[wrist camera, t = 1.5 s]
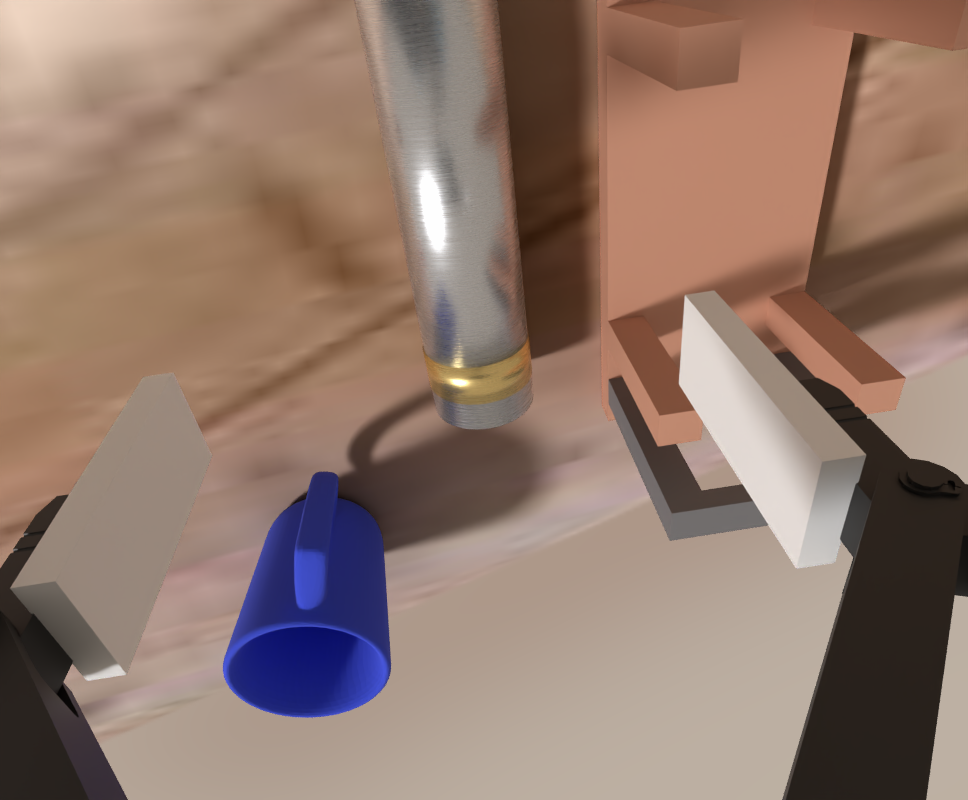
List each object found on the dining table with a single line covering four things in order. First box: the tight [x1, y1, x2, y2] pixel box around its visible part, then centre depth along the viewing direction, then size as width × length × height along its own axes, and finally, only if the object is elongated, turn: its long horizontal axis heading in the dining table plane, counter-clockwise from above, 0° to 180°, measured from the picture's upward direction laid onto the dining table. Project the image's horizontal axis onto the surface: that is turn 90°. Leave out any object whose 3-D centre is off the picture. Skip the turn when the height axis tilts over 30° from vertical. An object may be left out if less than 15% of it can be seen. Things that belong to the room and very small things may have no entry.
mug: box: [223, 472, 391, 717], centre depth 35 cm, size 8×12×10 cm
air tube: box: [354, 0, 533, 429], centre depth 27 cm, size 20×5×5 cm
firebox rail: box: [597, 0, 968, 541], centre depth 25 cm, size 25×10×12 cm, turn 7°
